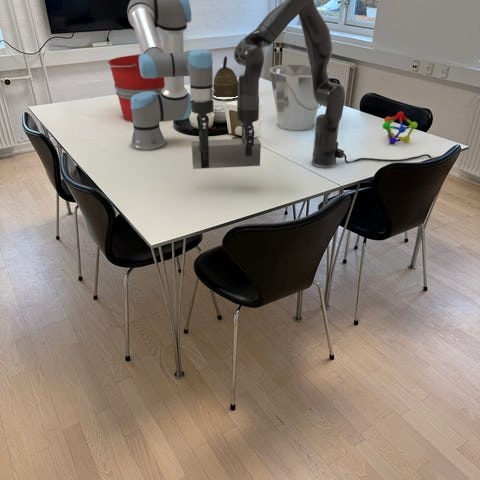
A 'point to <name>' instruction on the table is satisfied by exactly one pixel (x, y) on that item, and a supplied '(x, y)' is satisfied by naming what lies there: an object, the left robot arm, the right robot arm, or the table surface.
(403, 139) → the educational toy
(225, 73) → the bell
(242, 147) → the bar
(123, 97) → the bucket
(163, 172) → the table surface
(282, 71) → the bucket
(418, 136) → the table surface
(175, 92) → the left robot arm
